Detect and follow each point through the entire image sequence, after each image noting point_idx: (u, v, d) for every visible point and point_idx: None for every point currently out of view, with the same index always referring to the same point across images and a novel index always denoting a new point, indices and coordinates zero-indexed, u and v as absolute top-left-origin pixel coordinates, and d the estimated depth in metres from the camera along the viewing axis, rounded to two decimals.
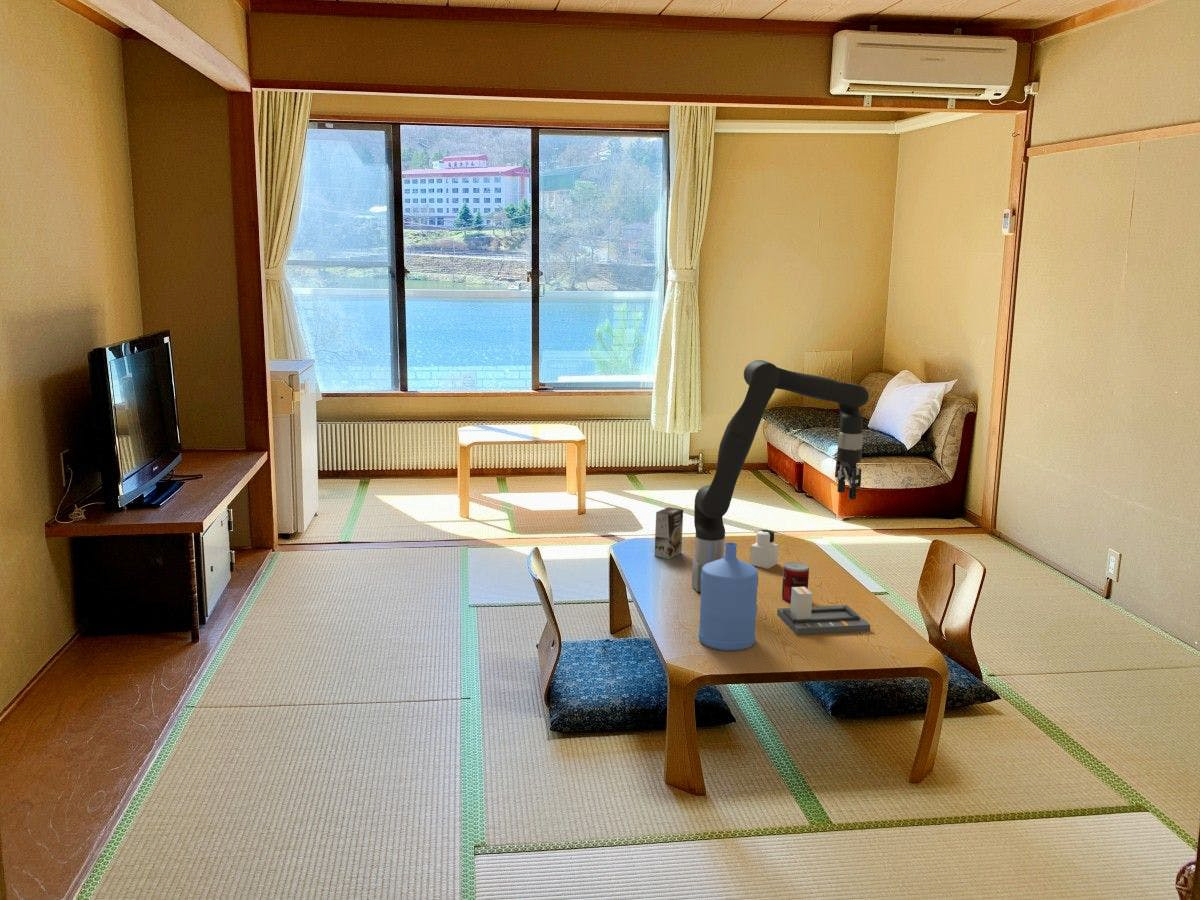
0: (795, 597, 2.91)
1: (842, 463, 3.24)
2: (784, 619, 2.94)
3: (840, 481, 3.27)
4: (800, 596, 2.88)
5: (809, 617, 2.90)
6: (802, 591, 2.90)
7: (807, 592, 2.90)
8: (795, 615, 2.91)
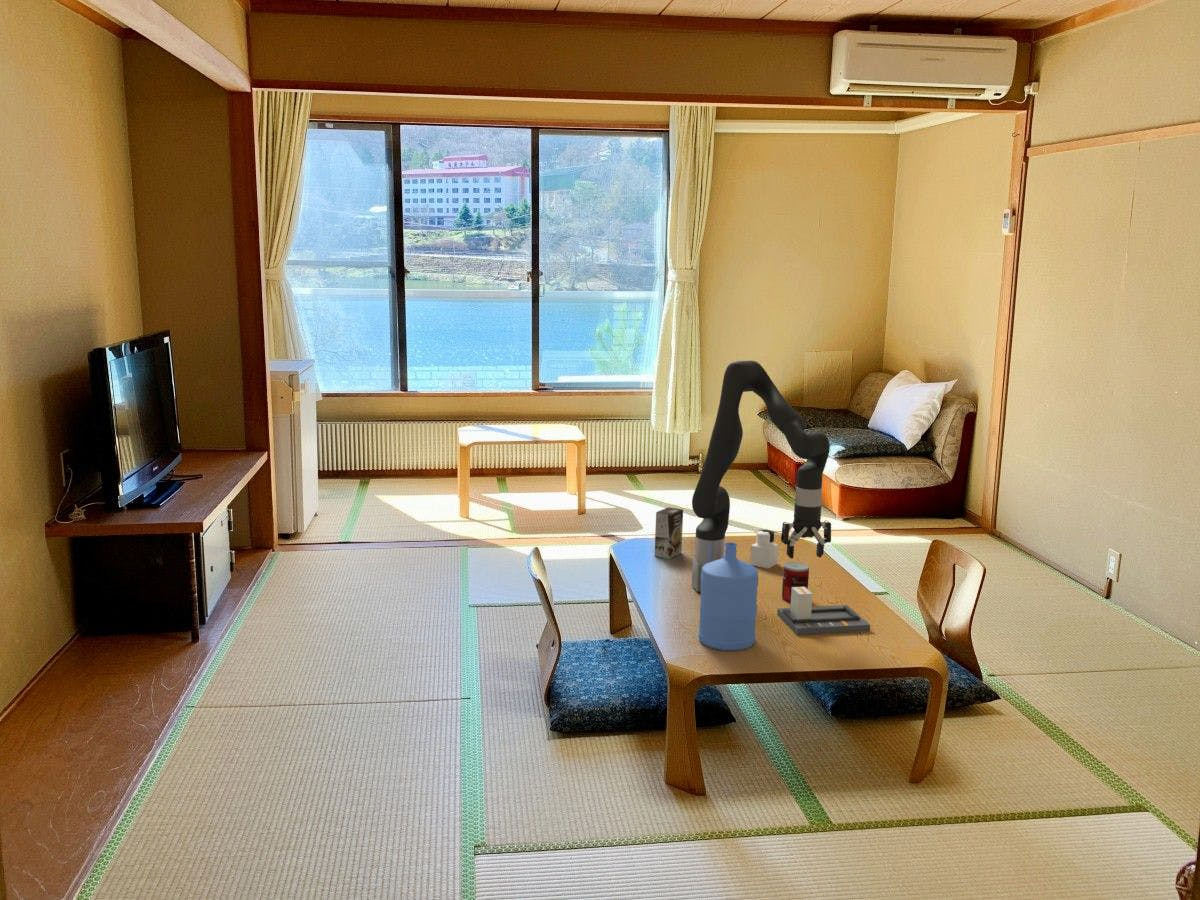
0: (795, 597, 2.91)
1: (801, 524, 2.86)
2: (784, 619, 2.94)
3: None
4: (800, 596, 2.88)
5: (809, 617, 2.90)
6: (802, 591, 2.90)
7: (807, 592, 2.90)
8: (795, 615, 2.91)
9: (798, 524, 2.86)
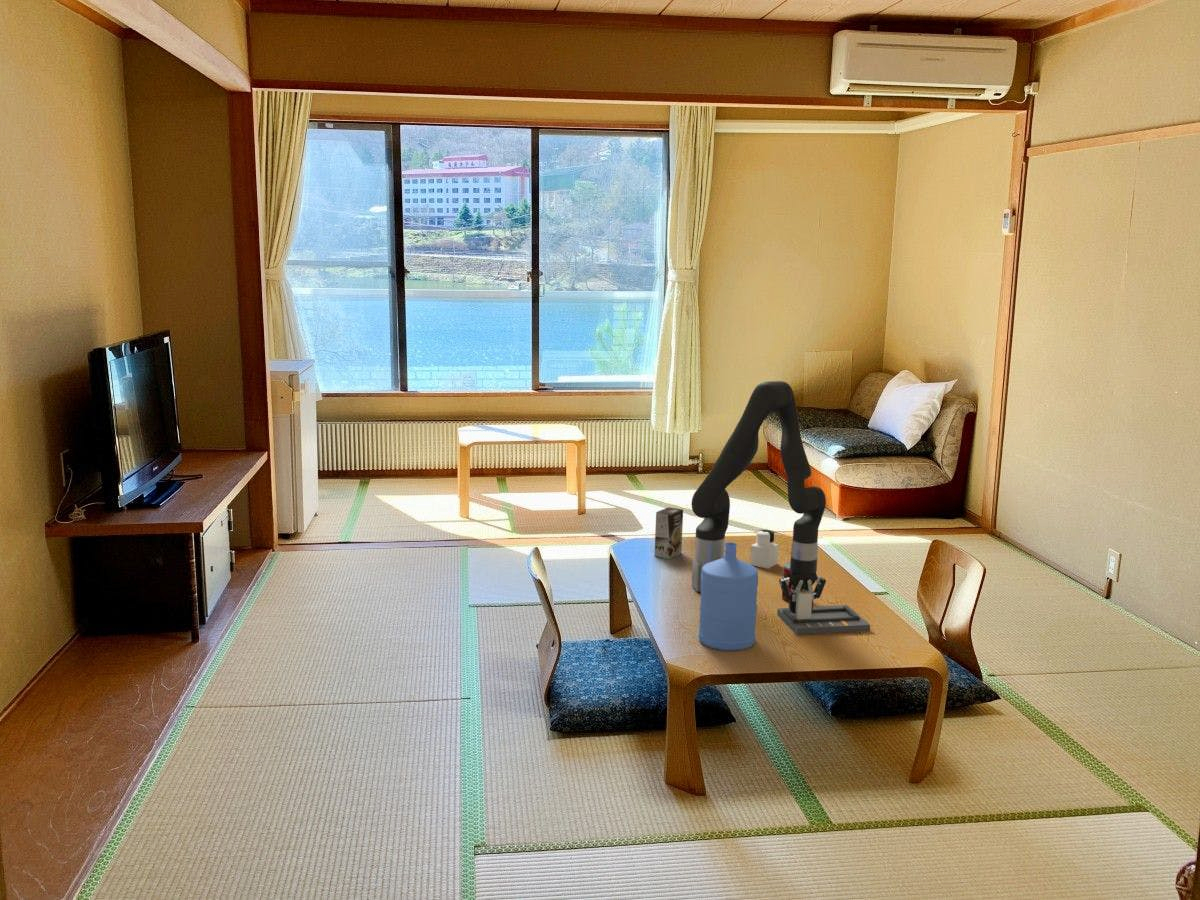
0: None
1: (796, 576, 2.89)
2: (784, 619, 2.94)
3: None
4: (800, 596, 2.88)
5: (809, 617, 2.90)
6: (802, 591, 2.90)
7: (807, 592, 2.90)
8: (795, 615, 2.91)
9: (793, 577, 2.89)
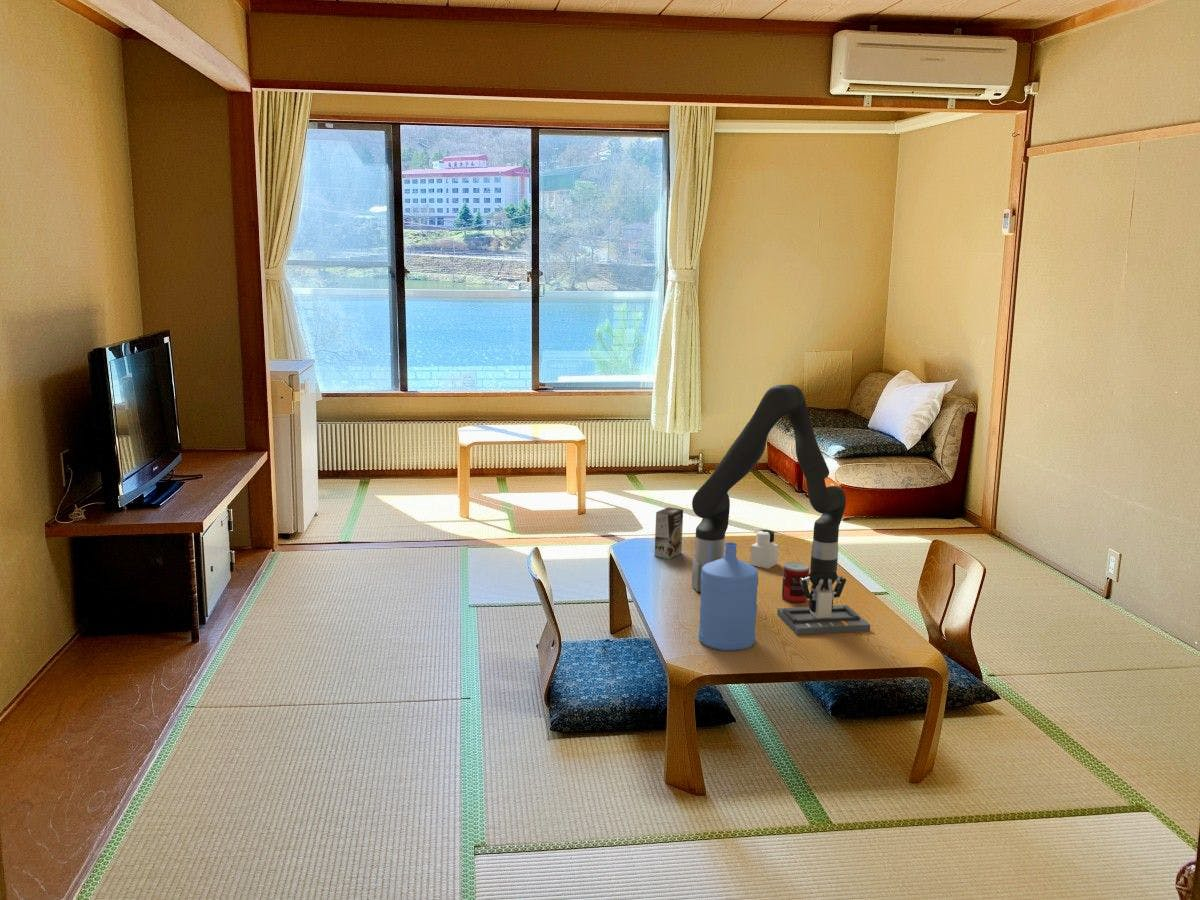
0: None
1: (816, 575, 2.90)
2: (784, 619, 2.94)
3: None
4: (820, 595, 2.89)
5: (829, 616, 2.91)
6: (822, 590, 2.91)
7: (827, 591, 2.91)
8: (815, 614, 2.92)
9: (814, 576, 2.90)
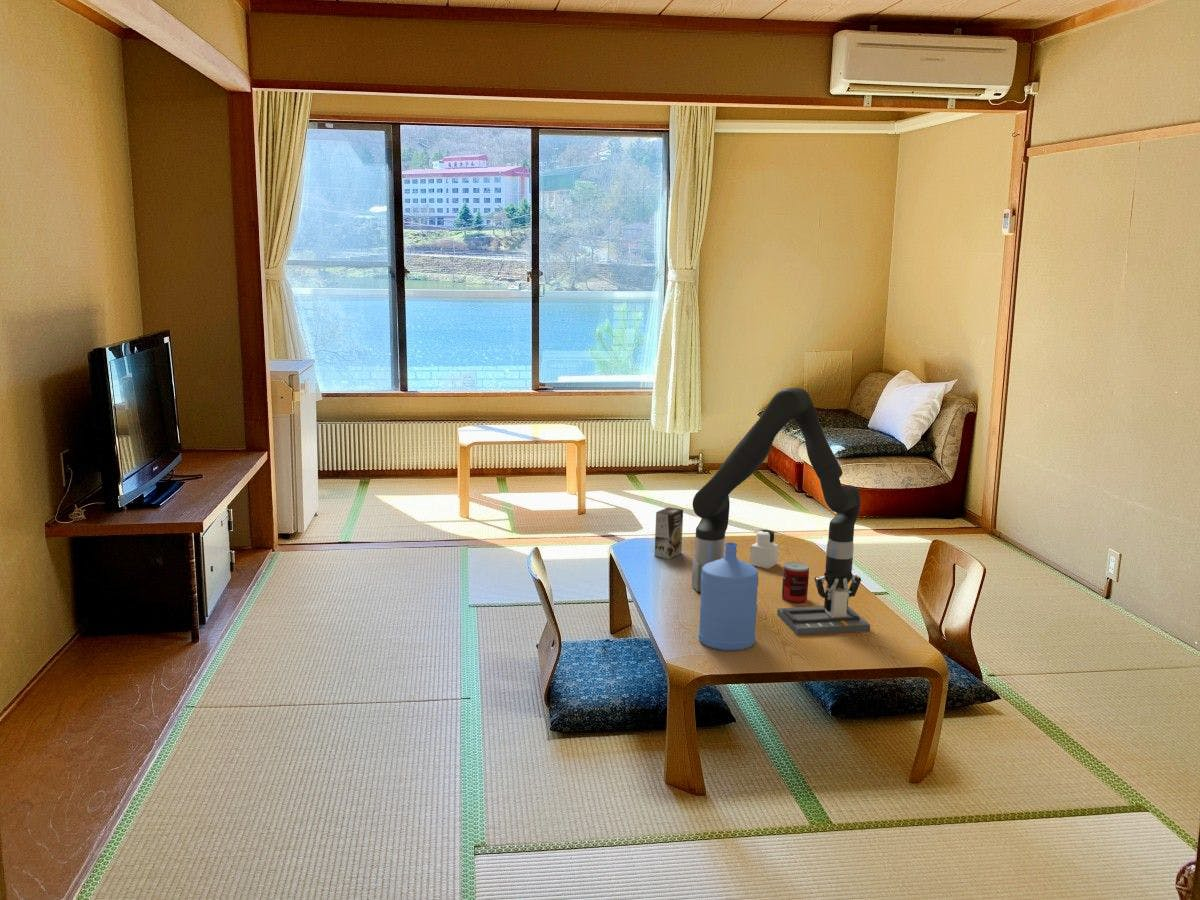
0: None
1: (831, 574, 2.91)
2: (784, 619, 2.94)
3: None
4: (836, 594, 2.90)
5: (844, 615, 2.92)
6: (837, 589, 2.92)
7: (842, 590, 2.92)
8: (830, 613, 2.93)
9: (829, 575, 2.91)
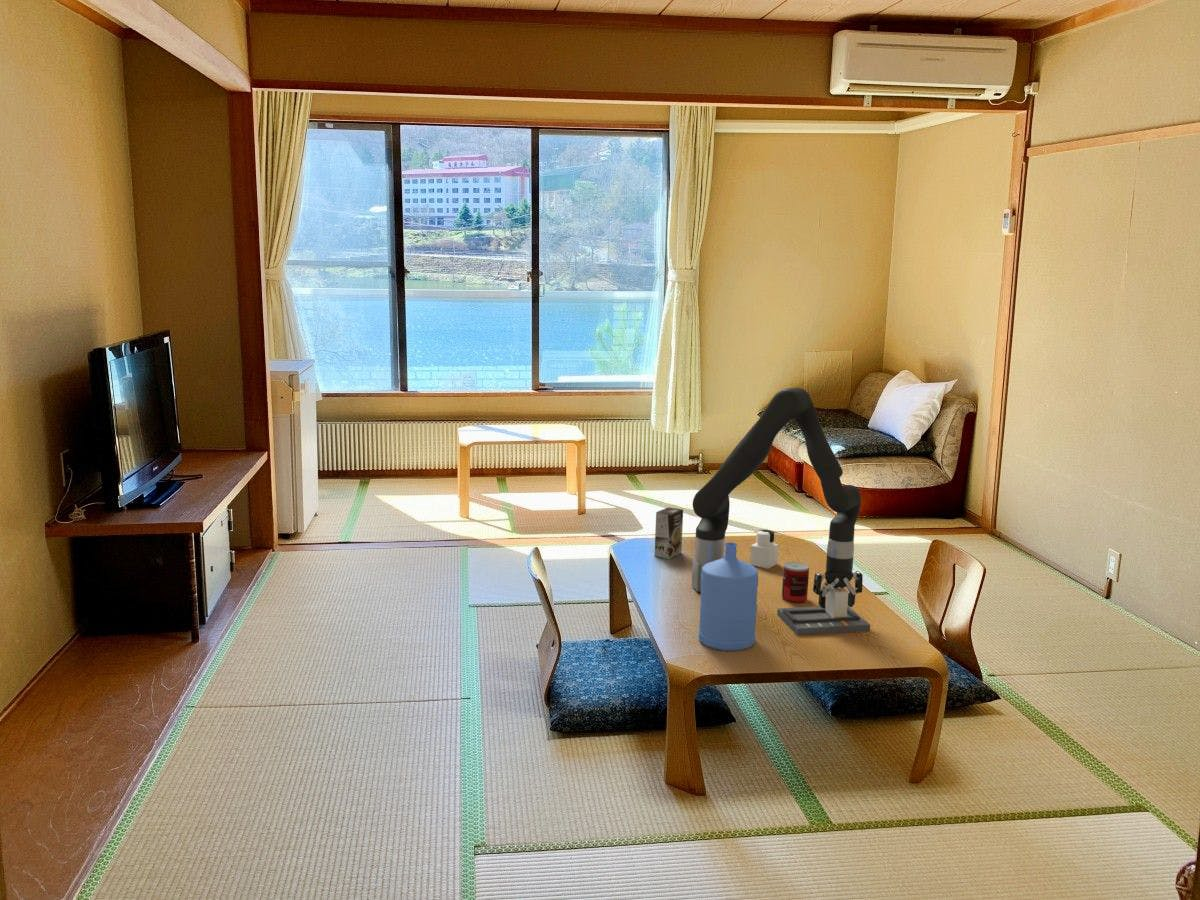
0: (831, 595, 2.93)
1: (833, 575, 2.91)
2: (784, 619, 2.94)
3: None
4: (836, 594, 2.90)
5: (845, 615, 2.92)
6: (838, 589, 2.92)
7: (843, 590, 2.92)
8: (831, 613, 2.93)
9: (830, 575, 2.91)
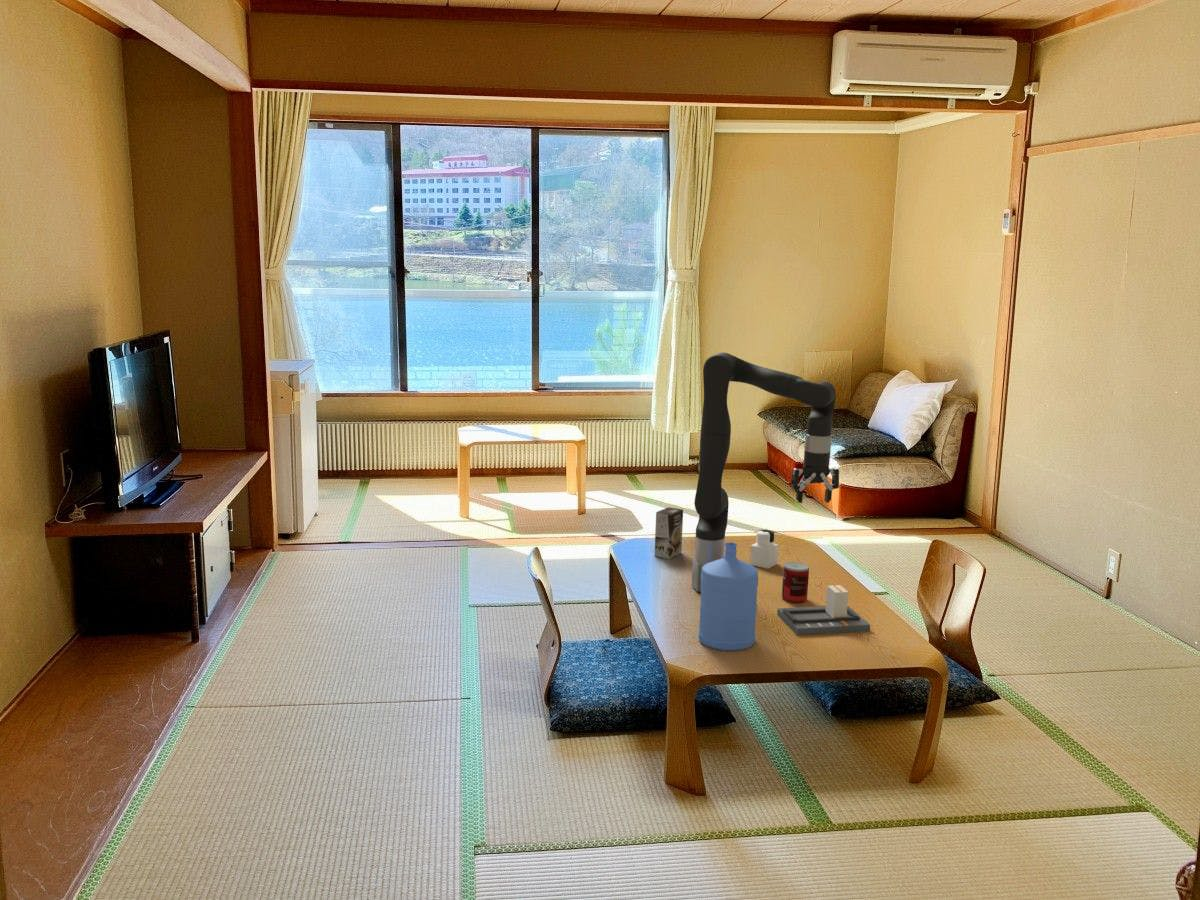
0: (831, 595, 2.93)
1: (810, 470, 2.99)
2: (784, 619, 2.94)
3: None
4: (836, 594, 2.90)
5: (845, 615, 2.92)
6: (838, 589, 2.92)
7: (843, 590, 2.92)
8: (831, 613, 2.93)
9: (807, 470, 2.98)
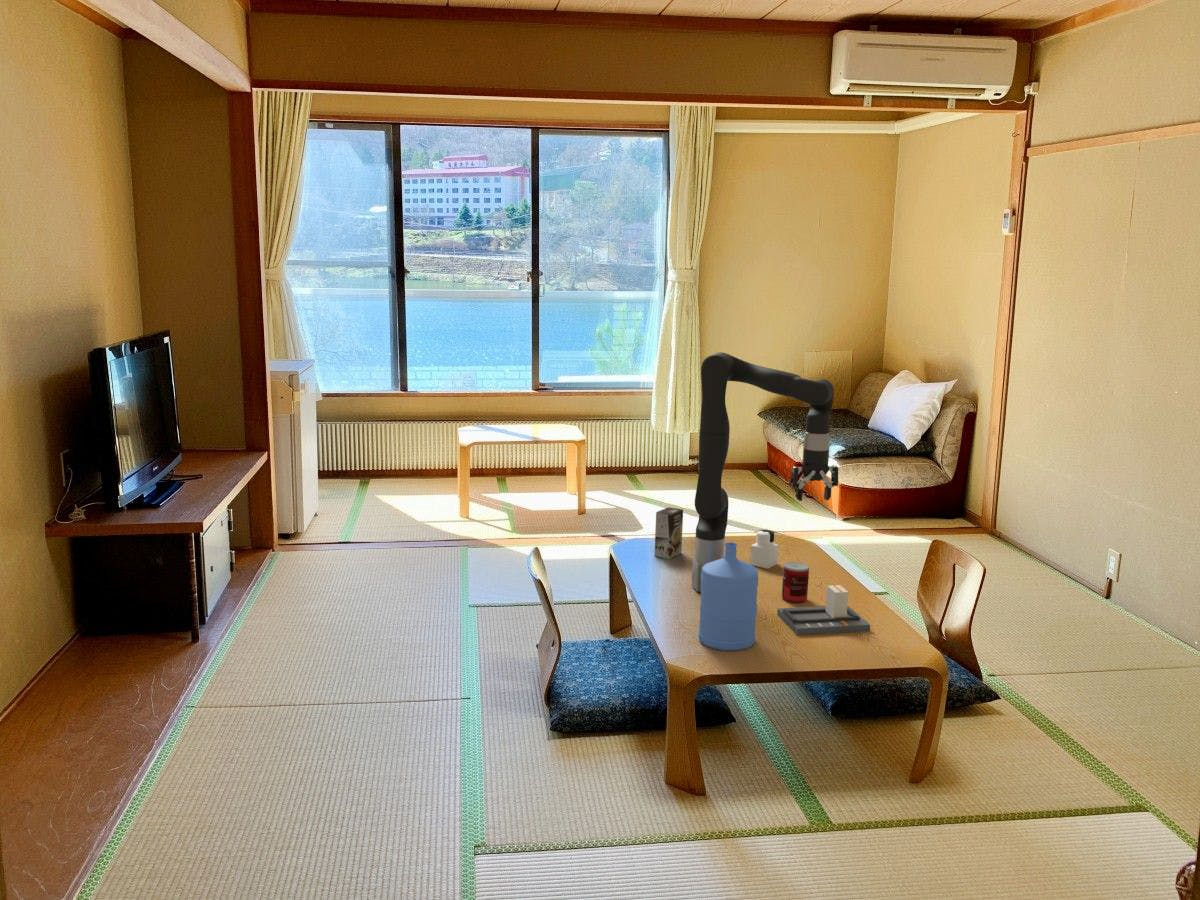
0: (831, 595, 2.93)
1: (809, 468, 2.99)
2: (784, 619, 2.94)
3: (801, 488, 3.00)
4: (836, 594, 2.90)
5: (845, 615, 2.92)
6: (838, 589, 2.92)
7: (843, 590, 2.92)
8: (831, 613, 2.93)
9: (807, 468, 2.99)
